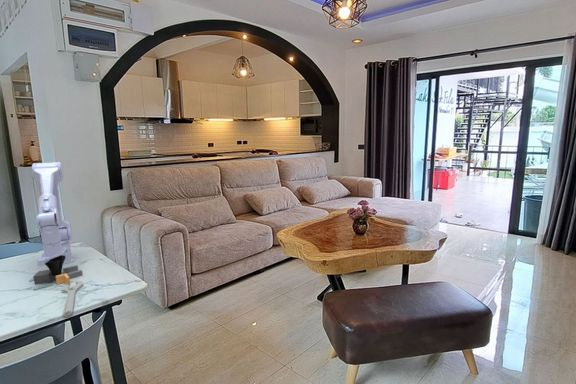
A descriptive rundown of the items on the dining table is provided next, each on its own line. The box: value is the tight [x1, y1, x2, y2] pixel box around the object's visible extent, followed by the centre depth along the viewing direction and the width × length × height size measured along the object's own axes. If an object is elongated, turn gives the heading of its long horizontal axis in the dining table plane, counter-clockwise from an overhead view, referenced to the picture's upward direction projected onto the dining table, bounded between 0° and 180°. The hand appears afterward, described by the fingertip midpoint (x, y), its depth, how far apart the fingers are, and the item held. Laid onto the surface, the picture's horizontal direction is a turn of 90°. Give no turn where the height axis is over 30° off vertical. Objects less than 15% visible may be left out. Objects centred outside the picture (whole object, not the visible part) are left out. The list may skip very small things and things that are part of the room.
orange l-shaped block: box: [55, 273, 71, 286], centre depth 126 cm, size 5×4×3 cm
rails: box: [28, 278, 54, 292], centre depth 127 cm, size 11×6×1 cm, turn 44°
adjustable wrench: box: [60, 280, 84, 319], centre depth 114 cm, size 25×6×2 cm, turn 24°
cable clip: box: [62, 264, 83, 280], centre depth 134 cm, size 8×5×2 cm, turn 44°
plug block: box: [32, 269, 56, 286], centre depth 129 cm, size 5×5×4 cm
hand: (57, 275), depth 130 cm, fingers closed
